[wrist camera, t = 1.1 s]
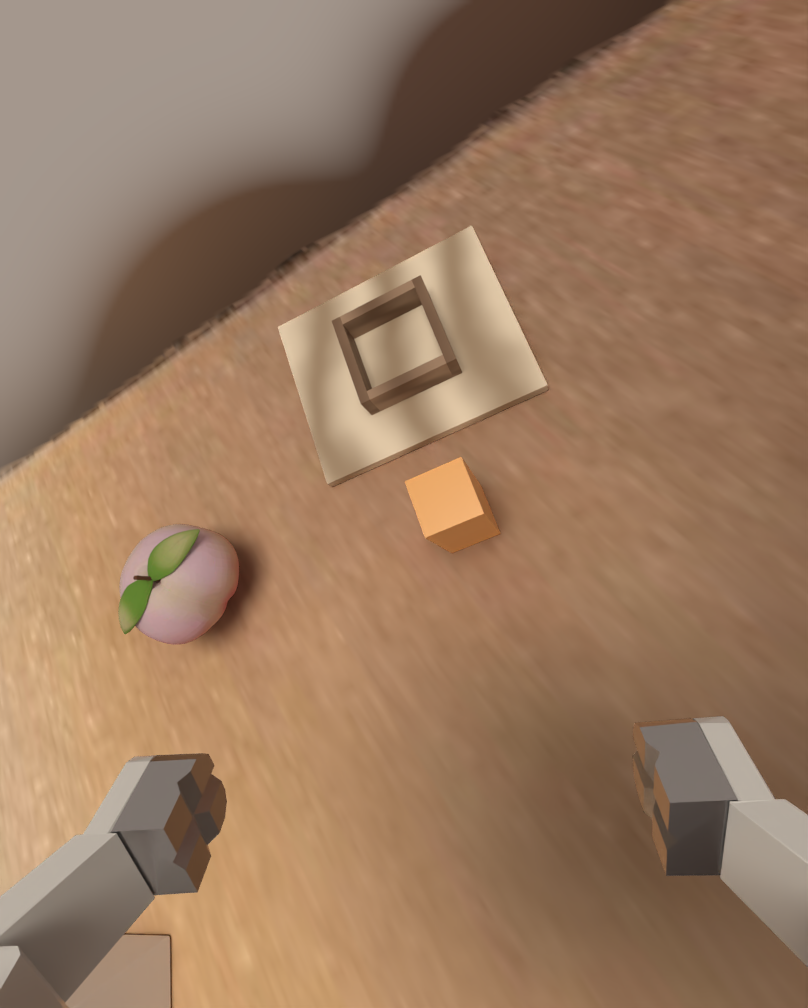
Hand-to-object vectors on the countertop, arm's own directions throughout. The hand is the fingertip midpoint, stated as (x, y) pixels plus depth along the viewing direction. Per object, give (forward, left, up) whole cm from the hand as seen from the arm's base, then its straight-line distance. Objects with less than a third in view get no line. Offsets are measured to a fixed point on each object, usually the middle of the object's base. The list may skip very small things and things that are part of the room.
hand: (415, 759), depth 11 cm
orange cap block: (+1, -11, -31) cm, 33 cm away
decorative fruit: (+23, -14, -31) cm, 41 cm away
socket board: (+1, -26, -31) cm, 41 cm away
